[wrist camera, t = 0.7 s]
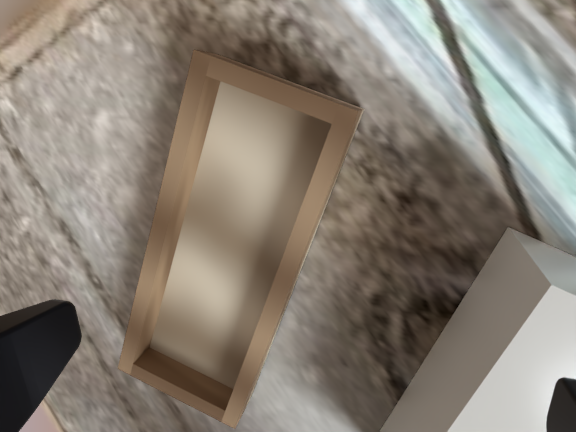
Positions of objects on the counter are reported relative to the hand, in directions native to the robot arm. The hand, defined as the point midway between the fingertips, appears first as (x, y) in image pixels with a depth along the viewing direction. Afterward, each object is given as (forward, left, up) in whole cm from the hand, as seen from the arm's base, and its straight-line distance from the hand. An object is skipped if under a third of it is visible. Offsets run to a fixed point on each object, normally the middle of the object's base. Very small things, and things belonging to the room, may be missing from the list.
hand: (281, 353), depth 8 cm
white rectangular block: (-6, -8, -13) cm, 16 cm away
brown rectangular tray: (-5, +5, -13) cm, 14 cm away
